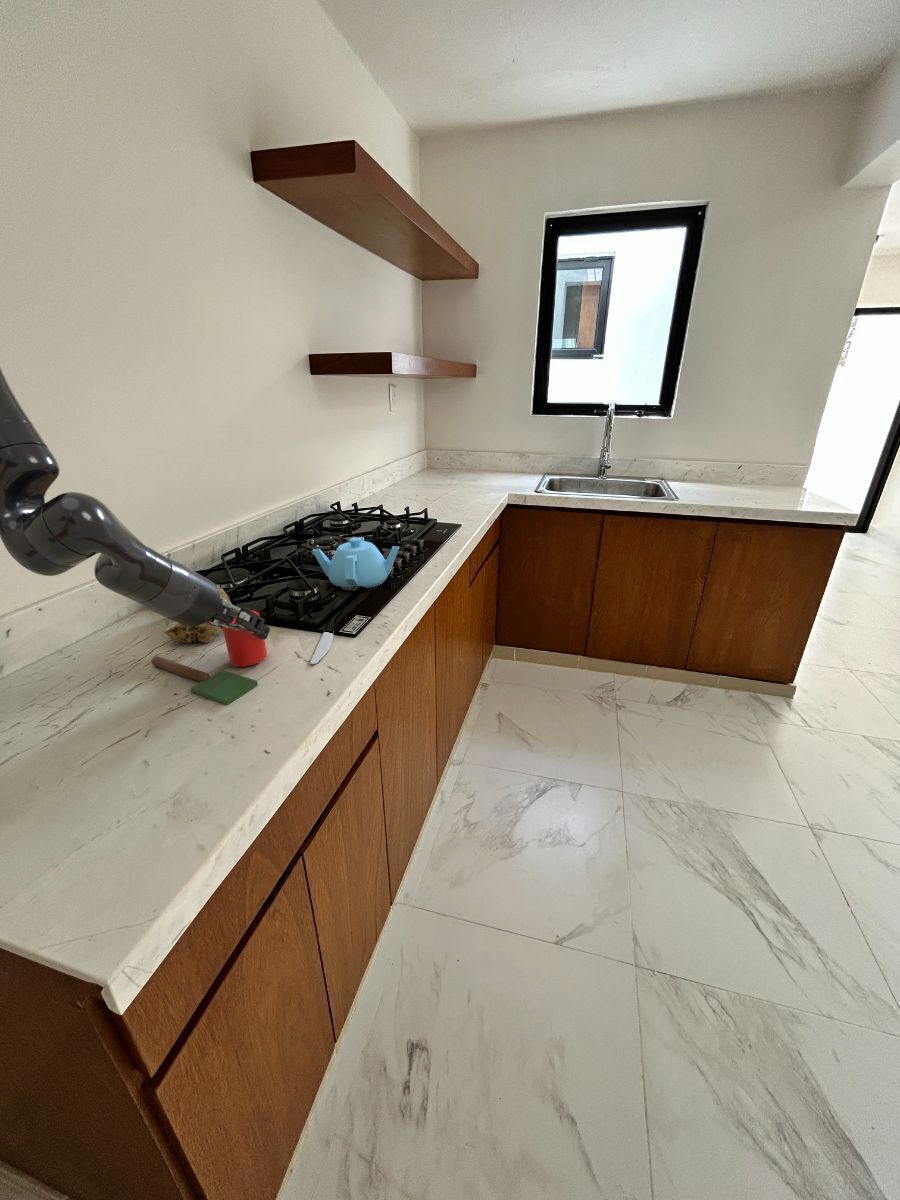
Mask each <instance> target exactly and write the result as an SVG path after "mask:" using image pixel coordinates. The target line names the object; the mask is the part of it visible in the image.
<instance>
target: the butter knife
mask: <svg viewBox="0 0 900 1200" xmlns="http://www.w3.org/2000/svg"><path fill="white" fill-rule="evenodd" d="M333 640H334V633H333V634H332V633H329V632H324V631H323V633H322V635H321V637H320V640H319V642H318V643H317V646H316V648H315V650H314V653H313V655H312V657H311V659H310V662H309V664H311V665H315V664H317V663H318V662H320V661H321V660H322V658H324V657H325V655H326V654H327V653H328V652H329V651H330V650H331V647H332V644H333Z"/></svg>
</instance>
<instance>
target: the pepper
mask: <svg viewBox="0 0 900 1200" xmlns="http://www.w3.org/2000/svg"><path fill="white" fill-rule="evenodd" d="M250 610H251V611H252V612H254V613H256V614H257V615H259V616H260V612H258V611H256V610H253V609H250ZM260 617H261V616H260ZM235 621H236V618H234V619H233V621H232V623H230V624H231V625H234V624H235ZM222 628H223V629H222V633H223V636H224V641H225V645H226V649H227V650H226V651H227V654H228V658H229V662H230V664H231V665H232V666H236V667H248V666H252V665H255V664H258V663H260V662H262V661H264V660H265V659H266V658H267V657H268V656H267V655H268V650H267V646H266V641H265V640H266V639H265V640H264V639H261V638H259V637H257V636H255V635H253V634H249V633H248V632H246V631H243V630H232V629H229V628H226V627H224V626H222Z"/></svg>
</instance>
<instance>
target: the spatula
mask: <svg viewBox="0 0 900 1200" xmlns="http://www.w3.org/2000/svg"><path fill="white" fill-rule="evenodd" d="M150 662H151V664H152V666H154V667H156V668H160V669H163V670H164V671H165V670H166V671H168V672H171V673H174V674H177V675H180V676H183V677H186V678H188V679H191V680H194V681H196V682H198V683H196V684H195V685H193V686H191V687H190V688H189V689H190V693H192V694H196V695H198V696H201V697H203V698H205V699H209V700H211V701H213V702H214V701H215V702H217V703H219V704H222V705H225V706H229V704H231V703H233V702H234V701H236V700H238V699H239V698H241V697H242V696H243V695H245V694H246V693H248V692H250V691H251V690H253V689H254V688H255V687H257V686H258V685H259V684H258V681H257V680H256V679H252V678H250V677H246V676H243V675H239V674H237V673H234V672H230V671H228V670H224V669H221V670H219V671H217V672H215V673H214V674H212V675H210V674H209V673H208V672H205V671H202V670H199V669H196V668H193V667H191V666H187V665H185V664H182V663H178V662H176V661H173V660H169V659H166V658H165V657H164V658H163V657H161V656H154V657H152V659H151V661H150Z"/></svg>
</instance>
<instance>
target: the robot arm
mask: <svg viewBox="0 0 900 1200" xmlns="http://www.w3.org/2000/svg"><path fill="white" fill-rule="evenodd" d="M60 471H61V469H60V465H59V463H58V461H57V459H56V456H55V455H54V454H53V452H52V451H51V449H50V448H49V447H48V445H47V444H46V442H45V440H44V439H43V438H42V436H41V435H40V433H39V431H38V430H37V428H36V427H35V425H34V424H33V422H32V421H31V419H30V417H29V416H28V415H27V413H26V412H25V410H24V409H23V407H22V405H21V404H20V402H19V401H18V399H17V397H16V395H15V393H14V391H13V390H12V388H11V386H10V385H9V381H8V379H7V378H6V375H5V374H4V372H3V369H2V367H1V366H0V540H1V542H2V544H3V546H4V548H5V549H6V551H7V552H8V554H9V555H10V556H11V557H12V559H13V560H14V561H16V562H17V563H18V564H19V565H20V566H21V567H22V568H25V569H26V570H28V571H29V572H32V573H34V574H36V575H40V576H45V577H55V576H60V575H62V574H64V573H66V572H68V571H71V569H73V568H75V567H76V566H78V565H80V564H82V563H84V562H85V561H87V560H89V559H90V558H92V557H94V556H96V555H98V554H99V555H98V557H97V559H96V560H95V564H94V568H93V574H94V577H95V579H96V581H97V582H98V583H99V584H100V585H101V586H102V587H104V588H105V589H108V590H109V591H111V592H113V593H115V594H118V595H119V596H122V597H125V598H127V599H129V600H131V601H133V602H135V603H137V604H139V605H140V606H142V607H143V608H145V609H147V610H149V611H151V612H153V613H156V615H157V614H158V615H159V616H162V617H164V618H166V619H169V620H173V621H175V622H177V623H180V624H182V625H184V626H187V627H194V626H198V625H201V624H207V625H210V626H214V627H215V626H216V627H220V628H222V626H224V627H226V628H229V629H232V630H243V631H246V632H248V633H249V634H253V635H255V636H257V637H259V638H261V639H264V640H267V639H268V637H269V634H270V631H271V628H270V626H268V625H266V624H264V623H265V621H266V619H265V618H264V617H261V616H259V615H257V614H256V613H254V612H252V611H251V610H252V609H250V608H248V607H246V606H241V607H239V606H236V605H234V604H231V603H232V602H231V603H230V602H229V601H226V600H224V599H220V593H219V589H218V587H219V586H218V585H217V584H216V583H215V582H213V581H211V580H210V579H208V578H206V577H205V576H203V575H201V574H199V573H198V572H196V571H194V570H193V569H191V568H189V567H188V566H186V565H184V564H183V563H181V562H179V561H176V560H174V559H172V558H169V557H167V556H165V555H164V554H162V553H160V552H159V551H156V550H155V549H153V548H151V547H150V546H148V545H147V544H144V543H143V541H141V540H140V539H139V538H138V537H137V536H136V535H135V534H134V533H133V532H132V531H131V530H130V529H129V528H128V527H127V526H125V524H124V523H123V522H122V520H120V519H119V518H118V517H117V515H116V514H115V513H114V512H113V511H112V510H111V509H110V508H109V507H108V505H106V504H105V503H104V502H103V501H101V500H100V499H98V498H97V497H95V496H92V495H89V494H86V493H83V492H78V491H67V492H63V493H60V494H58V495H56V496H55V497H53V498H51V499H50V500H48V501H46V499H45V498H46V497H45V496H46V494H47V492H48V490H49V489H50V487H51V486H52V485H53V484H54V483H55V481H56V480H57V479H58V477H59V475H60ZM234 618H236V621H235V624H234V625H231V624H230V623H232V621H233V619H234ZM222 630H223V628H222Z"/></svg>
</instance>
